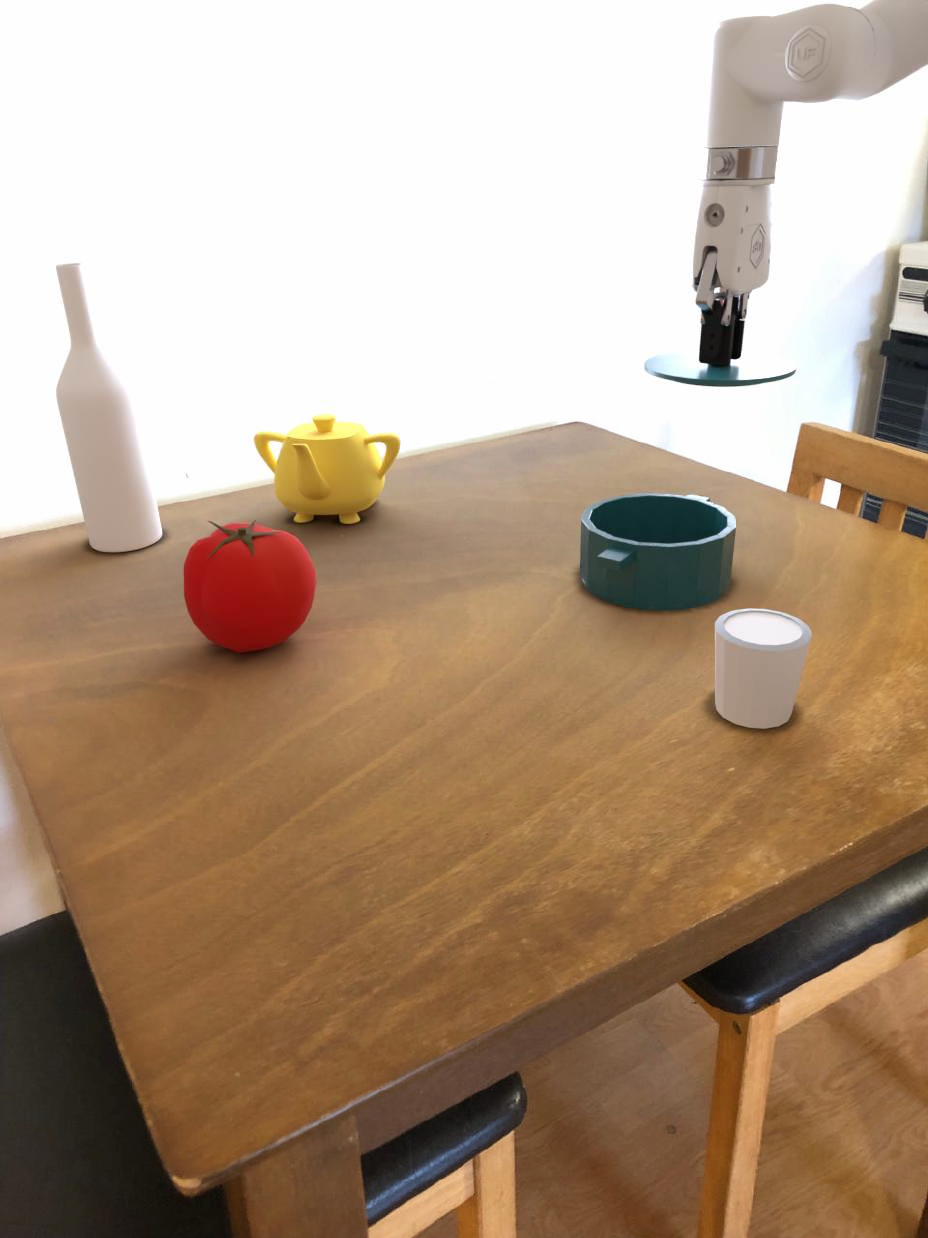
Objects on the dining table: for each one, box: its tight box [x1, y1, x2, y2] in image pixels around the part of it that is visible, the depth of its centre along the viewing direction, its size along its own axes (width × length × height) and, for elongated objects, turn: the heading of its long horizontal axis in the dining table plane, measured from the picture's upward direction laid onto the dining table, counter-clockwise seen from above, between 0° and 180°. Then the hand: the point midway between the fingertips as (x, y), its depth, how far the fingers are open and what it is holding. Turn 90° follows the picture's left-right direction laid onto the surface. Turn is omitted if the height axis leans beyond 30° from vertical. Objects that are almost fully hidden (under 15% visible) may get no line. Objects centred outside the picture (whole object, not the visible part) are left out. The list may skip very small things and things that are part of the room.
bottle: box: [55, 262, 163, 553], centre depth 101 cm, size 8×8×30 cm
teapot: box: [253, 413, 401, 525], centre depth 112 cm, size 14×14×12 cm
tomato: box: [183, 519, 317, 654], centre depth 82 cm, size 12×12×11 cm
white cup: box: [714, 607, 813, 730], centre depth 70 cm, size 7×7×7 cm
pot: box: [579, 492, 737, 612], centre depth 92 cm, size 15×20×6 cm
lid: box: [643, 314, 797, 388], centre depth 98 cm, size 16×16×6 cm
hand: (719, 359), depth 99 cm, fingers closed on lid, 2 cm apart
